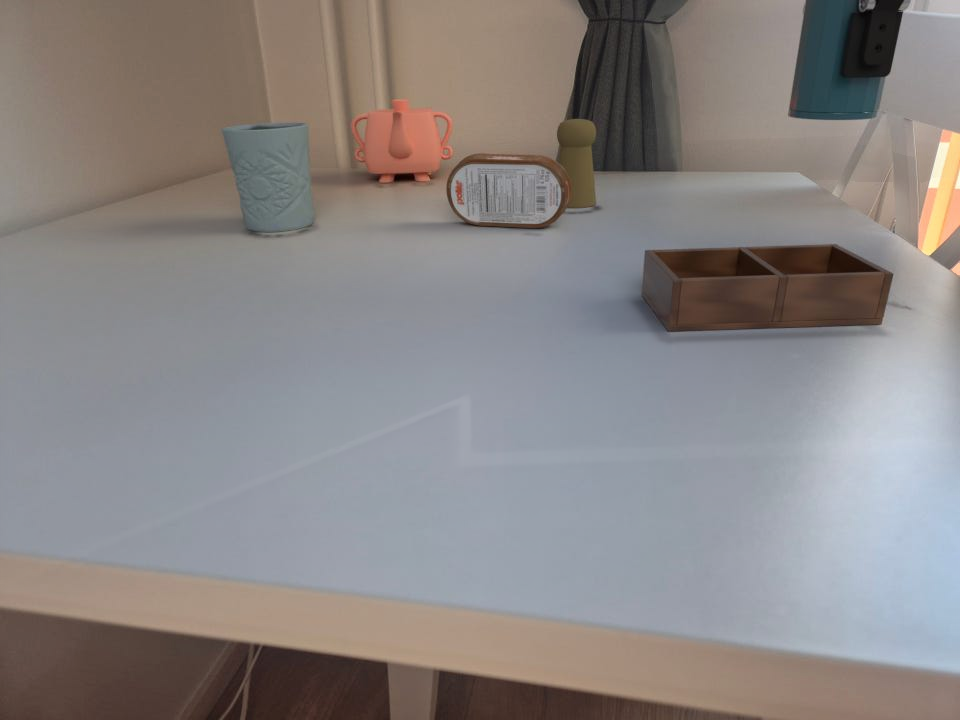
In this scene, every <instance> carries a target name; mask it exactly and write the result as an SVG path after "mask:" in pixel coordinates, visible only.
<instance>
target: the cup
mask: <svg viewBox="0 0 960 720" xmlns="http://www.w3.org/2000/svg"><path fill="white" fill-rule="evenodd" d="M804 4H805V8H804V14H803V13H802V21H801V27H800V35H799V40H798V47H797V53H796V59H795V67H794V73H793V79H792V85H791V91H790V97H789V104H788V105H789V106H788V111H787V116H788V117H789V118H794V119H802V120H813V121H817V120H818V121H819V120H820V121H859V120H871V119H875V118H877V117H878V111H879V110H880V107H881V101H882V97H883V91H884V86H885V81H886V77H887V76H886V77H868V78H844V77H842V76H841V74H840V71H841V66H842V61H843V55H844V50H845V44H846V39H847V33H848V28H849V22H850V17H851V13H858V12H860V10H859V0H805V1H804ZM897 12H898V11H897Z"/></svg>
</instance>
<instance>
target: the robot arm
mask: <svg viewBox="0 0 960 720" xmlns="http://www.w3.org/2000/svg"><path fill="white" fill-rule="evenodd" d="M910 4H911V0H859V10H860V12H858V13H851V17H850V22H849V28H848V33H847V39H846V44H845V50H844V55H843V61H842V66H841V71H840V74H841V76H842V77H844V78H868V77H888V76H889V75H890V74H891V71H892V68H893V64H894V63H893V62H894V57H895V53H896V49H897V42H898V39H899V35H900V30H901V24H902V19H903V15H904V12H905V11H906V10H907V9H908V8H909V6H910ZM804 8H805V3H804V4H803V8H802V15H803V14H804ZM897 11H898V12H897Z"/></svg>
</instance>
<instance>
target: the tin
mask: <svg viewBox="0 0 960 720" xmlns="http://www.w3.org/2000/svg"><path fill="white" fill-rule="evenodd" d="M558 162H559V161H557V160H555V159H554V158H552V157H550V156H547V155H542V154H517V153H516V154H515V153H486V152H485V153H484V152H482V153H480V152H479V153H473V154H469V155H467V156H466V157H464V158H463V159H461V160H460V161H459V162H458V163H457V164H456V165H455V166H454V168H453V169H452V170H451V172H450V174H449V175H448V178H447V182H446V188H445V189H446V198H447V201H448V205H449V207H450V208H451V210H452V212H453V213H454V214H455V215H456V216H457V217H458V218H459V219H460V220H462V221H463V222H465V223H467V224H470V225H472V226H478V227H479V226H481V227H499V228H500V227H501V228H518V229H519V228H521V229H522V228H523V229H543V228H545V227H548V226H550V225H552V224H554V223H556V221H557V220H559V219H560V217H561V216H562V215H563V214H564V213H565V211H566V210H567V209H568V208H567V207H568V204H569V202H570V199H571V182H570V179H569V176H568V174H567V172H566V171H565V169H564V168H563V167H562V166H561V165H560V164H559V163H558Z"/></svg>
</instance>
